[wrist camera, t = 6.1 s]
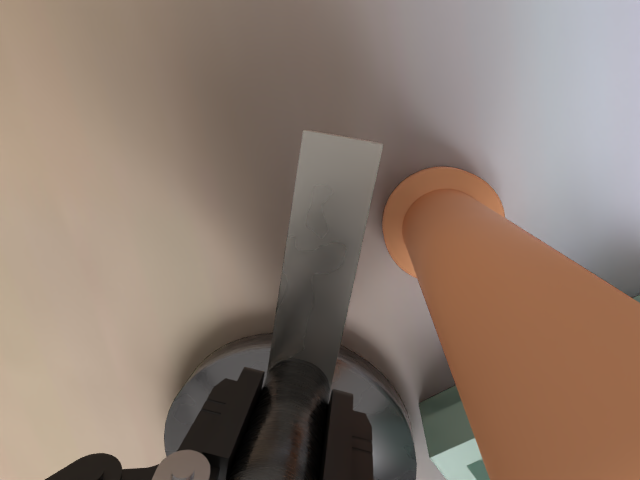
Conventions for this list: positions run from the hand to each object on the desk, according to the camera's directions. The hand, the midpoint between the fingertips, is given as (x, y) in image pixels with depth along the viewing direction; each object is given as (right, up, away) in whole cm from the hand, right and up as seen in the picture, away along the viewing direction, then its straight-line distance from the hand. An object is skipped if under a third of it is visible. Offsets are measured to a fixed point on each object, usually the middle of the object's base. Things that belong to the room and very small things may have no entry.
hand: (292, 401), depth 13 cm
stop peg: (+6, +6, +2) cm, 9 cm away
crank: (0, 0, +3) cm, 3 cm away
